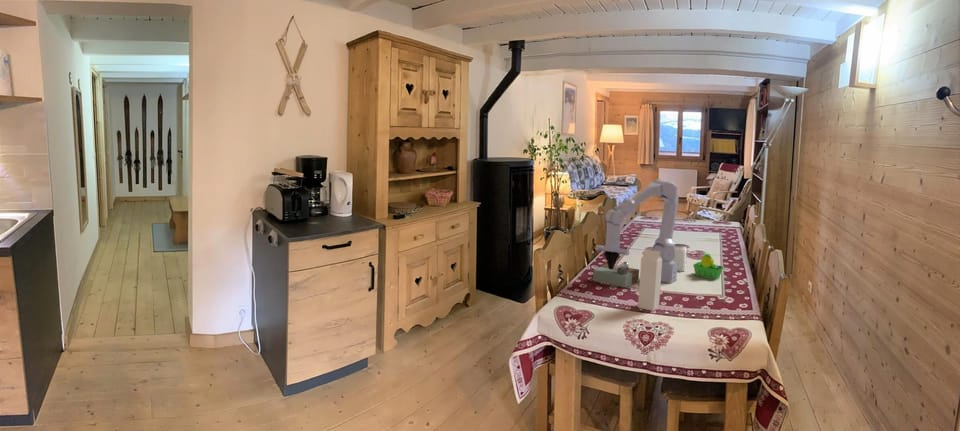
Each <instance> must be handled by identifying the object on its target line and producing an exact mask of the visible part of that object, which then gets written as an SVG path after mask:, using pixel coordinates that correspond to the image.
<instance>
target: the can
mask: <svg viewBox="0 0 960 431" xmlns="http://www.w3.org/2000/svg"><path fill="white" fill-rule="evenodd" d="M674 244H675V257H674V259H673V260H672V261H673V262H676V263H677V273H681V272H685V271H686V262H687V261H686V260H687V245H686V244H684V243H683V244H682V243H674Z"/></svg>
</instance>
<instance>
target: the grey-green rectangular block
mask: <svg viewBox="0 0 960 431" xmlns="http://www.w3.org/2000/svg"><path fill="white" fill-rule="evenodd" d="M628 268H629V267H628ZM628 268H626V267H623V268H621V269H620V272H618V273H616V272H613V269H612V270H611V269H609V268H604V267H601V266H599V267H597V268H594V269H593V272H592V281H593V282H596V281H597V283H601V282H602V284H605V283H608V284H607V285H610V284H611V285H610V286H615V285H616V286H615V287H619V286H621V287H620V288H624V287H626V288H628V287H629V285H630V286H632V285H633V284H632V273H630V272H627V269H628ZM627 286H628V287H627Z"/></svg>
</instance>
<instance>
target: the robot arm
mask: <svg viewBox="0 0 960 431" xmlns="http://www.w3.org/2000/svg"><path fill="white" fill-rule="evenodd" d="M677 191H678V187H677V185H676V184H675V183H674V182H672V181H671V180H670V181H669V180H663V179H661V178H660V179H659V178H656V179H654V180H653V181H652V182H649V184H648V185H647V186H646V187H645V188H644V189H643V190H641V191H639V193H638V194H636V195H635V196H634V197H633V198H632V199H631V198H627V199H623V200H622V202H621V203H620V204H619V205H617V206H614V208H613V209H609V210H607V212H606V213H605V215H604V220H605V221H606V232H605V245H600V244H599V245H598V244H597V245H595V251H602V252H604V254H603V256H604V257H605V259H606V262H607V263H606V264H608V268H609V269H611V270H612V269H613V267H614V265H616V262H617V260H618V258H619V256H620V255H624V256H627V257H628V256H629V255H630V250H629V249H626V248H621V247H620V243H621V242H620V241H621V225H622V224H623V222H624V220H625V218H626V217H628V216H630V214H633V212H635V211H636V210H637V206H638V205H640V204H642V203H643V202H645V201H646V200H648V199H650V198H651V197H654V196H655V197H659V198H661V199H662V201H664V205H663V211H662V216H661V217H662V218H661V224H660V228H659V236H658V237H657V238H656V239H655V240H654V244H653V246H652V247H651V250H653V251H659V252H660V256H661V257H662V271H661V283H666V284H672V283H673V282H675V281H676V280H678V279H677V278H678V277H677V276H678V275H677V274H678V272H677V263H676V262H673V261H672V260H673V259H674V257H675V244H676V243H675V242H674V240H673V236H674V228H675V224H676V218H677V211H678V207H679V200H680V199H679V198H680V197H679V195H678V192H677Z"/></svg>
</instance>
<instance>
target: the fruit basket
mask: <svg viewBox="0 0 960 431" xmlns="http://www.w3.org/2000/svg"><path fill="white" fill-rule="evenodd" d="M714 262H715V260H714V258H713V257H712V256H711V255H710V254H709V253H704V254H702V257H701V259H700V261H698V262H696V263H694V264H693V263H692V264H693V265H692V266H693V268H694V275H695V276H697V277H701V278H705V279H710V280H717V279H720V277H721V275H722V272H723V270H724V268H725V267H724V266H722V265H718V264H716V263H714Z"/></svg>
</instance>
